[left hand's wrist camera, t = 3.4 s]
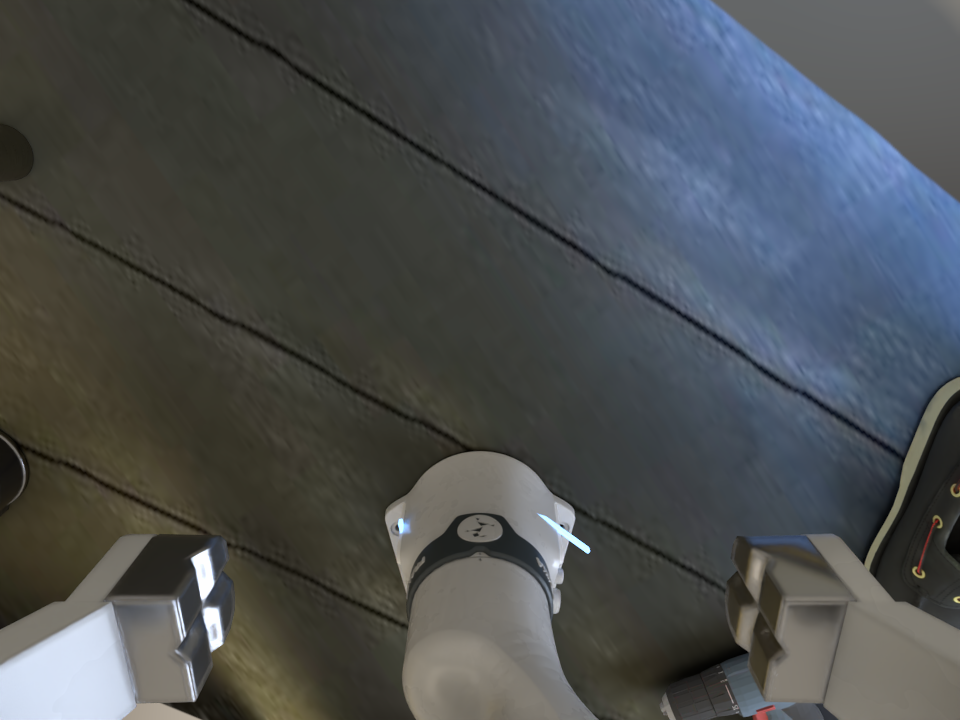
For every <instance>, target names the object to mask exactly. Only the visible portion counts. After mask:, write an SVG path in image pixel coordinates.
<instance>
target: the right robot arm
mask: <svg viewBox="0 0 960 720" xmlns="http://www.w3.org/2000/svg"><path fill="white" fill-rule="evenodd" d="M28 478H29V470H28V465H27V461H26V459H25V456H24V455H23V453H22V451H21V449H20V448H19V447H18V445H17V444H16V443H15V442H14V441H13V440H12V439H11V438H10V437H9V436H7V435H6V434H5V433H3V432H2V431H0V516H1V515H2V514H4V513H5V512H6V511H7V510H8V509H9V504H10V503H11V502H13V501H14V500H15V499H17V498H18V497H19V496H20V495H21V494H22V493H23V491H24V490H25V488H26V486H27V483H28Z"/></svg>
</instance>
